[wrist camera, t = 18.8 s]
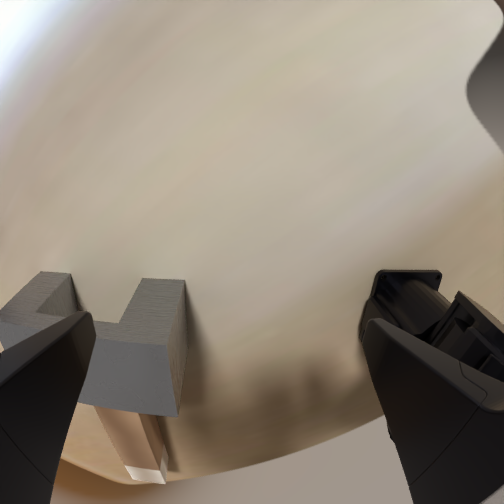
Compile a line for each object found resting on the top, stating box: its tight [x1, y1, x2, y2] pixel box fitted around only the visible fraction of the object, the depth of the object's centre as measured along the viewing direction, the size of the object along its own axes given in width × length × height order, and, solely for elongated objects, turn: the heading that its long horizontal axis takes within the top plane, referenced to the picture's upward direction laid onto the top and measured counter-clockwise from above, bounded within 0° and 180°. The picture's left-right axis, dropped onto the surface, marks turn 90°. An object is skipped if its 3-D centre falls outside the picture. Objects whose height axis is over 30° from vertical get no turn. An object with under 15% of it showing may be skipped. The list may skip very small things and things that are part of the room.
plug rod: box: [94, 406, 169, 484], centre depth 24 cm, size 4×16×4 cm, turn 176°
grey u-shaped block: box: [0, 272, 188, 417], centre depth 18 cm, size 12×6×7 cm, turn 86°
